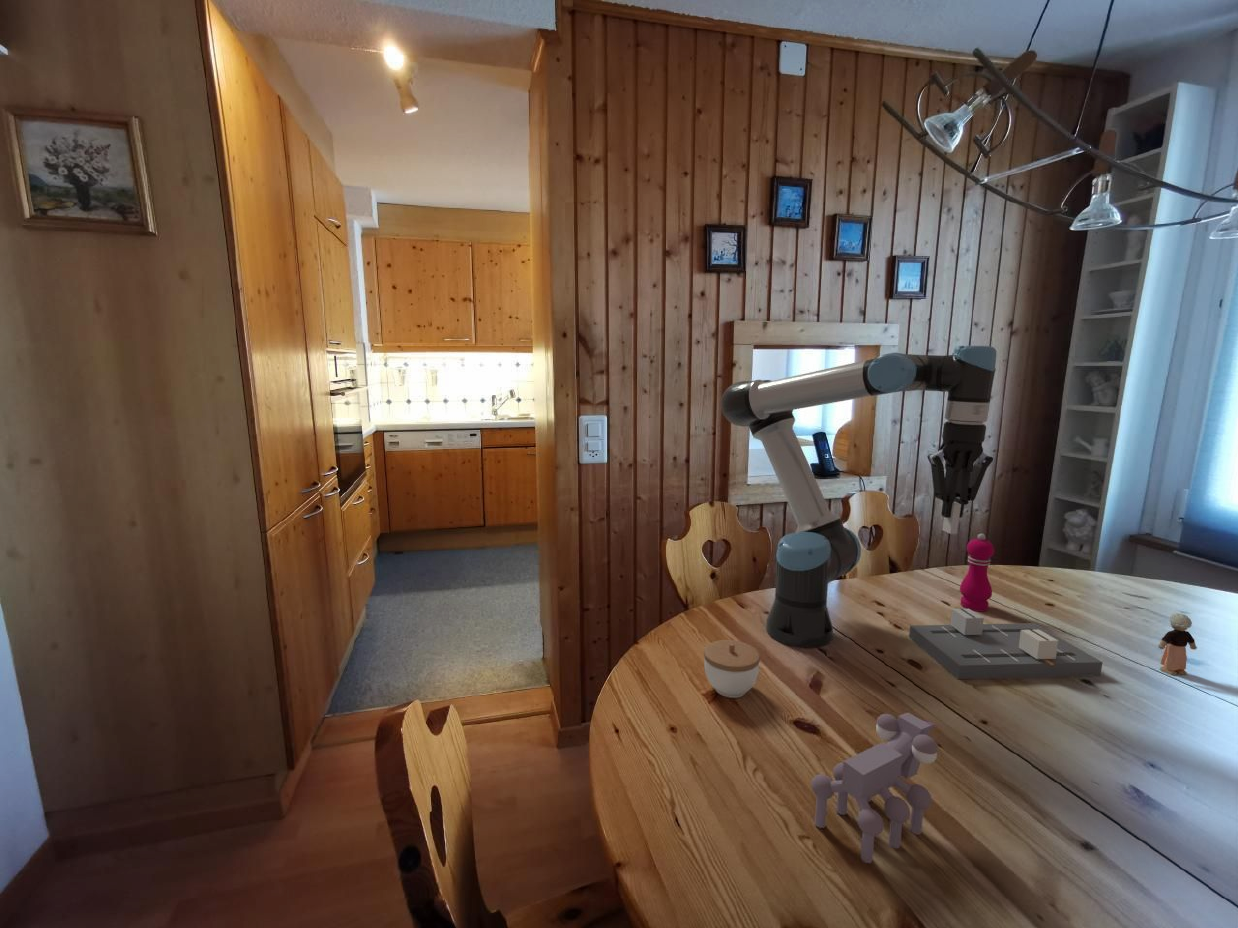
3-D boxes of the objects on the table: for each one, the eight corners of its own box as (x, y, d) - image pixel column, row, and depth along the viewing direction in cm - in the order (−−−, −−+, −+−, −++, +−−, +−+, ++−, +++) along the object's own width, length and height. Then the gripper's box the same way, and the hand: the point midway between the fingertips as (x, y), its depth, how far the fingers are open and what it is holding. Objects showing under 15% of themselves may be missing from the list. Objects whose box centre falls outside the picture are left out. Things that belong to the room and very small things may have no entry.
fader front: (1036, 659, 115) (1039, 640, 114) (1018, 647, 120) (1020, 629, 119) (1055, 658, 115) (1058, 639, 114) (1036, 646, 120) (1039, 628, 119)
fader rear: (964, 635, 125) (966, 617, 125) (950, 625, 130) (952, 608, 129) (981, 634, 125) (983, 617, 125) (967, 624, 130) (969, 607, 130)
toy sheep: (893, 768, 88) (904, 690, 85) (961, 817, 79) (976, 733, 76) (802, 816, 78) (811, 731, 76) (867, 879, 69) (881, 785, 67)
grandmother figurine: (1173, 664, 119) (1183, 608, 117) (1195, 673, 115) (1206, 616, 113) (1146, 669, 117) (1156, 612, 115) (1168, 678, 114) (1178, 620, 112)
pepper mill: (962, 610, 146) (970, 536, 143) (954, 599, 153) (962, 528, 150) (994, 613, 144) (1002, 538, 141) (985, 602, 151) (993, 531, 148)
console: (959, 680, 113) (961, 666, 113) (909, 637, 131) (910, 625, 131) (1102, 676, 114) (1104, 662, 114) (1032, 634, 132) (1034, 622, 132)
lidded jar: (712, 669, 117) (713, 627, 116) (763, 682, 113) (765, 638, 111) (695, 696, 108) (696, 650, 106) (751, 710, 103) (753, 663, 102)
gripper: (945, 423, 111) (930, 537, 116) (1009, 425, 112) (991, 537, 116) (923, 419, 119) (910, 526, 123) (983, 420, 119) (967, 526, 124)
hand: (949, 531), depth 120 cm, fingers closed
